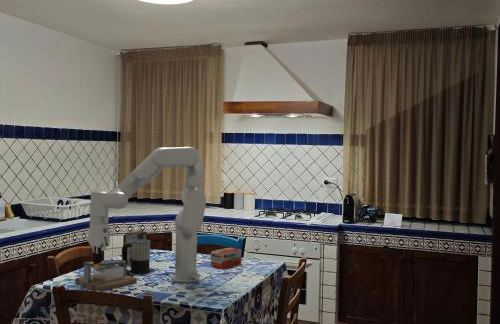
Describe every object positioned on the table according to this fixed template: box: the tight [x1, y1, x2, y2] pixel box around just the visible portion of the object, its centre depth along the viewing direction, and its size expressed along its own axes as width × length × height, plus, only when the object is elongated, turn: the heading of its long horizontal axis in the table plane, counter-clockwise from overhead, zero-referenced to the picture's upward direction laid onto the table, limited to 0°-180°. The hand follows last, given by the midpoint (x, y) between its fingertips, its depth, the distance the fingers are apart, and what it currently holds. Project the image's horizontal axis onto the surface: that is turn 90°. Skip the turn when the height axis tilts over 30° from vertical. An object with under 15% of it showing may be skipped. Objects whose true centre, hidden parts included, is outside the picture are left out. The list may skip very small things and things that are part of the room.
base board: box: [74, 274, 138, 292], centre depth 214 cm, size 18×19×2 cm
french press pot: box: [124, 230, 148, 266], centre depth 249 cm, size 9×6×16 cm
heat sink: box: [83, 261, 128, 283], centre depth 213 cm, size 10×18×8 cm, turn 137°
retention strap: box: [88, 259, 126, 269], centre depth 214 cm, size 17×6×1 cm, turn 137°
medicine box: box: [210, 247, 242, 270], centre depth 251 cm, size 15×8×8 cm, turn 142°
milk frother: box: [121, 239, 152, 277], centre depth 231 cm, size 14×16×15 cm
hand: (97, 262), depth 211 cm, fingers closed
